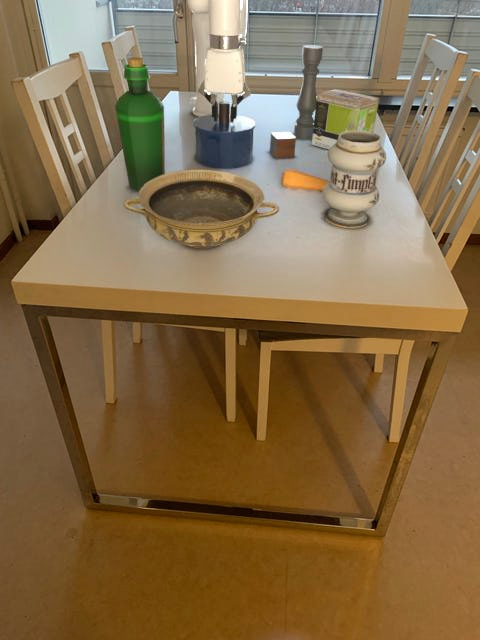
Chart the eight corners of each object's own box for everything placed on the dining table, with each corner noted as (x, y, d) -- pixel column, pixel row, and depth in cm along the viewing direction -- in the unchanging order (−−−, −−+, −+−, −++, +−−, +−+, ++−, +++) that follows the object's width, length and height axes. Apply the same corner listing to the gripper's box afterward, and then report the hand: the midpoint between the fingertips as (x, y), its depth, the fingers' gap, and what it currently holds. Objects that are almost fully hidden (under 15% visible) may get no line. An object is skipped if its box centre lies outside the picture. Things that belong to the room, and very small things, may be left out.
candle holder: (313, 133, 155) (323, 45, 140) (313, 139, 150) (324, 49, 135) (293, 132, 155) (302, 44, 140) (293, 138, 150) (302, 47, 135)
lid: (183, 132, 126) (182, 107, 122) (205, 115, 138) (205, 92, 134) (245, 140, 122) (246, 114, 118) (261, 122, 135) (263, 98, 131)
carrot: (279, 190, 121) (281, 176, 117) (282, 177, 123) (284, 163, 119) (358, 205, 119) (363, 192, 115) (360, 192, 121) (365, 179, 117)
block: (269, 152, 140) (271, 133, 137) (287, 151, 141) (289, 131, 138) (276, 159, 136) (277, 139, 133) (294, 157, 137) (296, 137, 134)
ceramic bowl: (116, 268, 89) (108, 218, 83) (139, 211, 107) (134, 167, 101) (279, 273, 89) (283, 224, 83) (273, 215, 108) (277, 171, 102)
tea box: (370, 150, 144) (381, 97, 135) (352, 158, 138) (361, 103, 129) (329, 138, 152) (336, 87, 143) (310, 145, 146) (316, 92, 137)
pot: (184, 167, 129) (182, 132, 123) (210, 143, 145) (209, 111, 139) (240, 175, 126) (241, 140, 120) (260, 149, 142) (261, 117, 136)
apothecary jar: (316, 205, 112) (327, 125, 101) (368, 207, 112) (384, 127, 101) (322, 229, 103) (334, 144, 92) (378, 231, 103) (397, 147, 92)
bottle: (176, 182, 121) (169, 57, 104) (157, 198, 113) (146, 66, 96) (138, 175, 123) (125, 52, 106) (116, 191, 116) (99, 60, 98)
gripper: (260, 42, 120) (256, 118, 131) (194, 38, 121) (196, 115, 133) (257, 47, 114) (253, 126, 126) (188, 43, 115) (190, 122, 127)
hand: (224, 120), depth 129 cm, fingers open, 3 cm apart
